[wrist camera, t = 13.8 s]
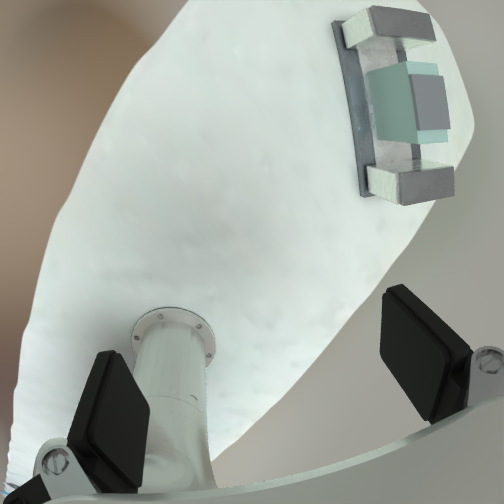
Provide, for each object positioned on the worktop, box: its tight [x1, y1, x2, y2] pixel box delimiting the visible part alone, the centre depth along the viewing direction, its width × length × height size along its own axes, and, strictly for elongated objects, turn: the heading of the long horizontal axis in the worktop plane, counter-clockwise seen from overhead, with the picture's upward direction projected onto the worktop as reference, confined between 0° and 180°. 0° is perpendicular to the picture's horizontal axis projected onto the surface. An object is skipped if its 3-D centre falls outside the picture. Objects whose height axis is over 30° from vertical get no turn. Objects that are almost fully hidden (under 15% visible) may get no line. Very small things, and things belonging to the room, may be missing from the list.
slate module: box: [367, 61, 450, 144], centre depth 30 cm, size 5×9×10 cm, turn 11°
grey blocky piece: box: [331, 6, 454, 206], centre depth 32 cm, size 24×10×10 cm, turn 10°
